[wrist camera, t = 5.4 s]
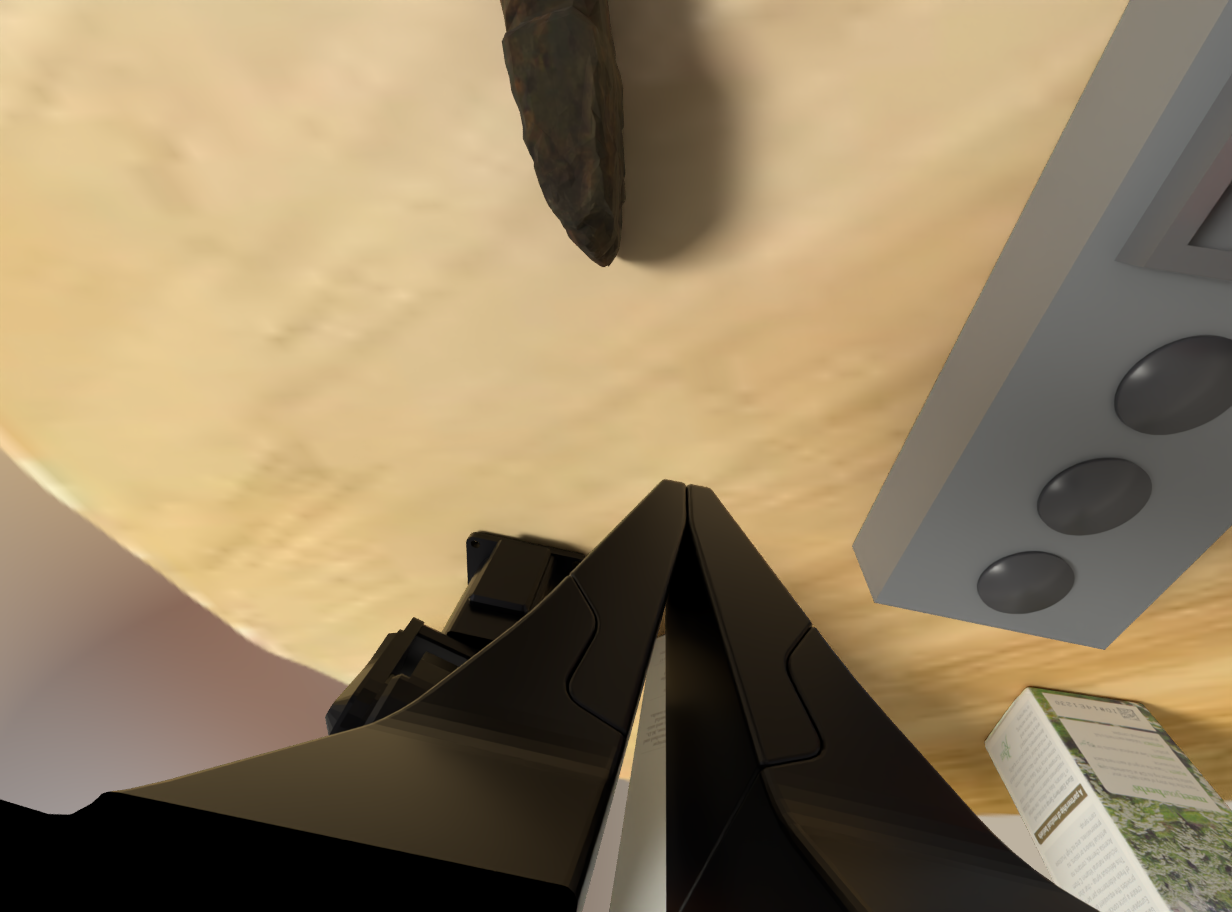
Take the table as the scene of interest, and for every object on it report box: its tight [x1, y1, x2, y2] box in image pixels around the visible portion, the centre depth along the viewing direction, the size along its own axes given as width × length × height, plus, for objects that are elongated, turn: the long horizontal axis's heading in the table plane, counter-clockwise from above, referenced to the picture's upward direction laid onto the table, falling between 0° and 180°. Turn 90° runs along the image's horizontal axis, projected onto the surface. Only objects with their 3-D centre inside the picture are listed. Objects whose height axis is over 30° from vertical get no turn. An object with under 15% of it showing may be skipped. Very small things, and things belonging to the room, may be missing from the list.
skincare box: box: [609, 635, 666, 912], centre depth 22 cm, size 8×6×15 cm
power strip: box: [852, 0, 1232, 650], centre depth 15 cm, size 22×9×4 cm, turn 172°
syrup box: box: [985, 687, 1232, 912], centre depth 20 cm, size 6×6×14 cm
